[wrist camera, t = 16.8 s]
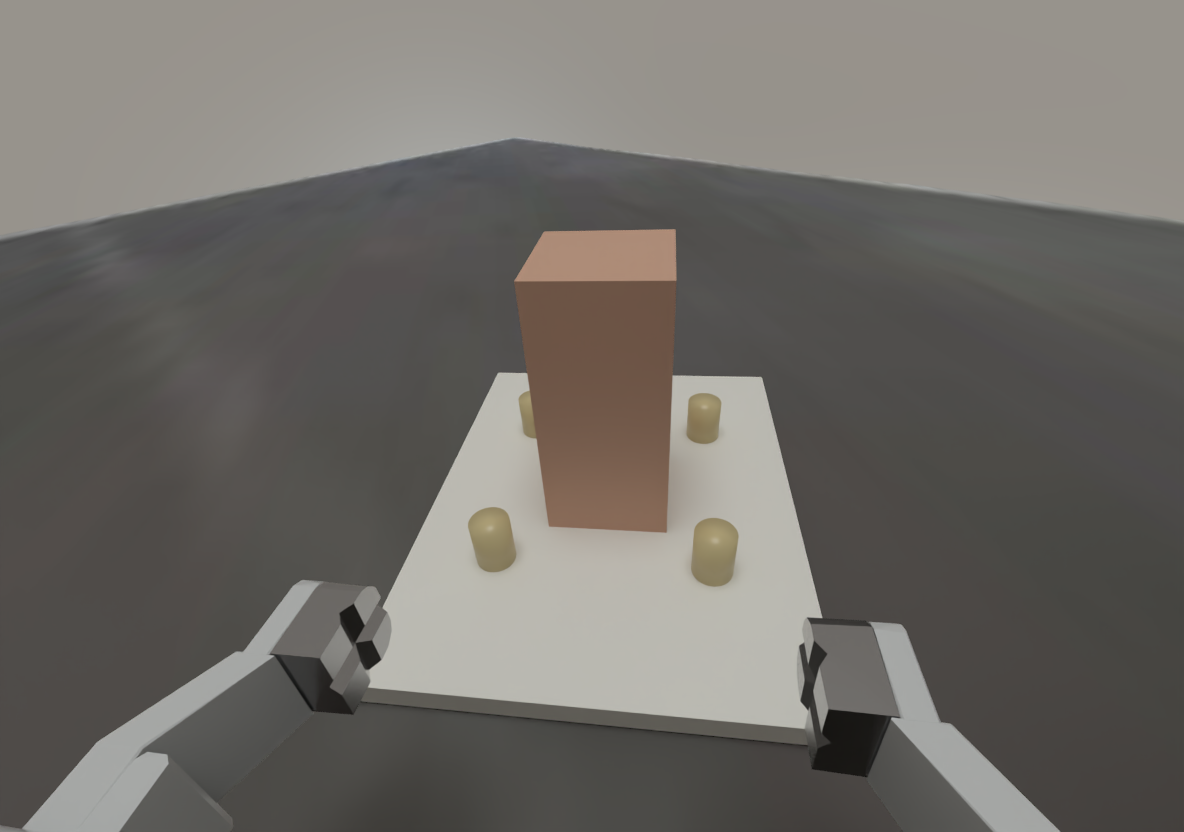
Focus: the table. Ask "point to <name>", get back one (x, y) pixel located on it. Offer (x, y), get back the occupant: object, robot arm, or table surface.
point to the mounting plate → (611, 584)
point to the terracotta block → (601, 373)
